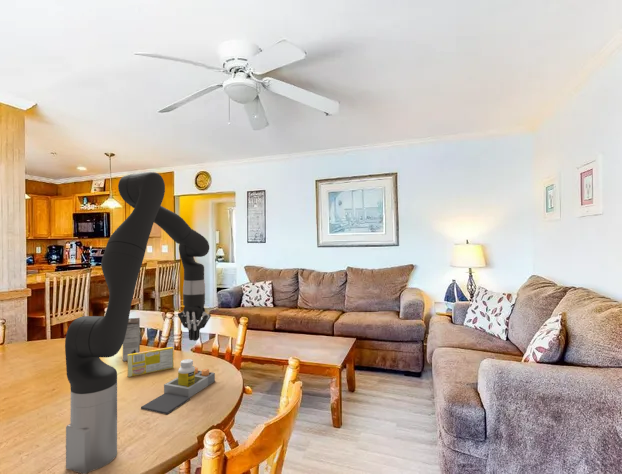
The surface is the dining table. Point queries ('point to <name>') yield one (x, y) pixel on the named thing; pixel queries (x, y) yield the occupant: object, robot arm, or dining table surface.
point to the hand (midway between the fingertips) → (194, 339)
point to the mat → (165, 403)
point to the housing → (191, 390)
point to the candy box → (150, 361)
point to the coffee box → (132, 338)
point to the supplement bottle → (186, 373)
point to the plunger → (205, 372)
